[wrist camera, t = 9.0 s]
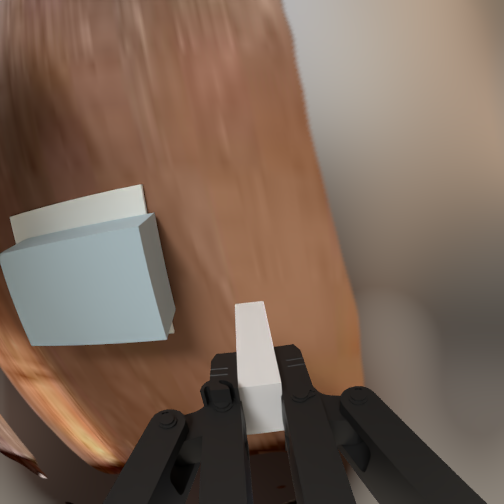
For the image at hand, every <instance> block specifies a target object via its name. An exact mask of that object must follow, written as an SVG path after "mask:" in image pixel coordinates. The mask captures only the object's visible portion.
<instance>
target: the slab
mask: <svg viewBox="0 0 504 504" xmlns="http://www.w3.org/2000/svg"><path fill="white" fill-rule="evenodd" d="M0 264H1V268H2V271H3V274H4V277H5V280H6V283H7V286H8V289H9V292H10V295H11V297H12V300H13V303H14V305H15V308H16V310H17V313H18V316H19V318H20V320H21V323H22V325H23V328H24V330H25V332H26V334H27V337H28V339H29V341H30V343H31V345H32V346H67V345H96V344H115V343H131V342H145V341H157V340H167V338H168V334H169V331H170V327H171V324H172V320H173V317H174V314H175V310H176V309H175V305H174V301H173V297H172V292H171V288H170V284H169V280H168V275H167V271H166V267H165V262H164V257H163V253H162V248H161V243H160V238H159V233H158V228H157V223H156V218H155V213H149V214H144V215H138V216H132V217H127V218H122V219H116V220H111V221H106V222H101V223H96V224H91V225H86V226H81V227H76V228H72V229H67V230H62V231H58V232H53V233H49V234H44V235H40V236H36V237H31V238H27V239H25V240H23V241H21V242H19V243H18V244H16V245H14V246H12V247H10V248H9V249H7V250H5V251H3V252H1V253H0Z"/></svg>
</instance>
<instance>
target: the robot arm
mask: <svg viewBox="0 0 504 504" xmlns="http://www.w3.org/2000/svg"><path fill="white" fill-rule="evenodd" d="M235 321H236V349H237V352H233V353H223V354H216V355H215V357H214V358H213V359H212V361H211V371H210V381H208V382H206V383H205V384H204V385H203V386H202V388H201V390H200V392H201V396H202V400H203V403H204V407H203V408H202V409H200V410H199V411H196V412H194V413H190V414H187V415H183V414H182V413H181V412H180V411H177V410H168V409H167V410H164V411H160V412H159V413H157V414H155V415H154V416H153V418H152V419H151V421H150V422H149V424H148V426H147V427H146V429H145V431H144V433H143V434H142V436H141V438H140V440H139V441H138V443H137V445H136V447H135V448H134V450H133V452H132V454H131V455H130V457H129V459H128V460H127V462H126V464H125V466H124V467H123V469H122V471H121V473H120V474H119V476H118V478H117V480H116V482H115V483H114V485H113V487H112V488H111V490H110V492H109V494H108V495H107V497H106V499H105V501H104V502H103V504H185V502H186V500H187V497H188V494H189V492H190V489H191V486H192V484H193V482H194V479H195V476H196V474H197V471H198V468H199V466H200V462H201V470H200V490H199V504H253V494H252V483H251V471H250V459H249V447H248V441H247V435H249V434H258V433H267V432H275V431H282V430H284V431H285V446H286V451H287V452H288V458H289V462H290V468H291V474H292V479H293V484H294V490H295V495H296V500H297V504H356V502H355V499H354V496H353V493H352V490H351V486H350V484H349V480H348V478H347V475H346V472H345V469H344V466H343V463H342V460H341V457H340V454H339V451H338V449H339V450H340V452H341V453H342V454H343V456H344V457H345V458H346V460H347V461H348V463H349V464H350V465H351V467H352V468H353V469H354V471H355V472H356V473H357V475H358V476H359V477H360V479H361V480H362V481H363V483H364V484H365V485H366V487H367V488H368V489H369V491H370V492H371V493H372V495H373V496H374V497H375V499H376V500H377V501H378V502H379V504H487V503H486V502H485V501H484V500H483V499H482V498H481V497H480V496H479V495H478V494H476V493H475V492H474V491H473V490H472V489H471V488H470V487H469V486H468V485H467V484H466V483H465V482H464V481H463V480H462V479H461V478H460V477H459V476H458V475H457V474H456V473H455V472H454V471H453V470H452V469H451V468H450V467H449V466H448V465H447V464H446V463H445V462H444V461H443V460H442V459H441V458H440V457H438V455H437V454H436V453H435V452H433V451H432V450H431V449H430V448H429V447H428V446H427V445H426V444H425V443H424V442H423V441H422V440H421V439H420V438H419V437H418V436H417V435H416V434H415V433H414V432H413V431H412V430H411V429H410V428H409V427H408V426H407V425H406V424H405V423H404V422H403V421H402V420H401V419H400V418H399V417H398V416H397V415H396V414H395V413H394V412H393V411H392V410H391V409H390V408H389V407H388V406H387V405H386V404H385V403H384V402H383V401H382V400H381V399H380V398H379V397H378V396H377V395H376V394H375V393H374V392H373V391H372V390H370V389H368V388H366V387H362V386H355V387H351V388H348V389H346V390H345V391H344V392H343V393H342V394H341V396H331V395H325V394H322V393H320V392H318V391H317V390H316V389H315V388H314V387H313V385H312V383H311V380H310V377H309V374H308V371H307V368H306V365H305V362H304V359H303V357H302V354H301V351H300V349H298V348H297V347H296V346H295V345H294V344H292V345H285V346H278V347H273V343H272V338H271V334H270V329H269V325H268V320H267V315H266V311H265V306H264V302H263V301H259V302H250V303H242V304H235Z"/></svg>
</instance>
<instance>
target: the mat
mask: <svg viewBox="0 0 504 504" xmlns="http://www.w3.org/2000/svg"><path fill="white" fill-rule="evenodd" d="M144 214H147V208H146V203H145V197H144V191H143V185H142V184H141V185H135V186H131V187H126V188H121V189H116V190H112V191H107V192H102V193H98V194H94V195H89V196H85V197H81V198H77V199H73V200H69V201H65V202H61V203H57V204H53V205H50V206H46V207H42V208H39V209H35V210H31V211H28V212H25V213H21V214H18V215H14V216H11V217H10V221H11V226H12V230H13V234H14V238H15V242H16V244H18V243H19V242H21V241H23V240H25V239H27V238H31V237H36V236H40V235H44V234H49V233H53V232H58V231H62V230H67V229H72V228H76V227H81V226H86V225H91V224H96V223H101V222H106V221H111V220H116V219H122V218H127V217H132V216H138V215H144ZM174 332H175V330H174V327H173V323H172V324H171V327H170V331H169V334H171V333H174Z"/></svg>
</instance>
